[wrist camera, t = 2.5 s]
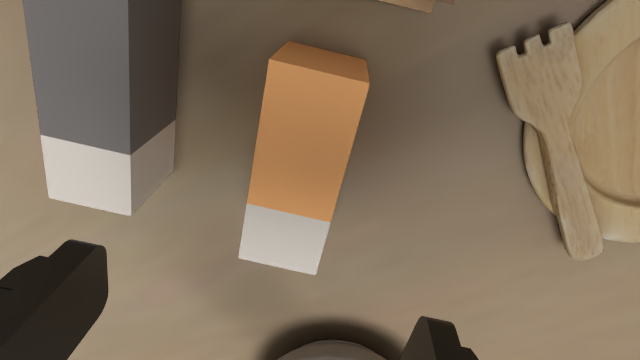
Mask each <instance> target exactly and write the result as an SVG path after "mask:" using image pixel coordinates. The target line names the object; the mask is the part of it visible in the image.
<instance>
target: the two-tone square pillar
mask: <svg viewBox="0 0 640 360" xmlns="http://www.w3.org/2000/svg"><path fill="white" fill-rule="evenodd" d="M23 7H24V15H25V22H26V30H27V37H28V45H29V52H30V60H31V67H32V75H33V82H34V90H35V97H36V105H37V112H38V120H39V127H40V135H41V142H42V150H43V157H44V165H45V172H46V180H47V187H48V195H49V198H51V199H56V200H60V201H65V202H69V203H74V204H78V205H83V206H87V207H92V208H96V209H101V210H105V211H110V212H114V213H118V214H123V215H127V216H132V215H133V214H134V213H135V212H136V211H137V210H138V209H139V207H140V206H141V205H142V204H143V203H144V202H145V201H146V200H147V199H148V198H149V197H150V196H151V195H152V194H153V192H154V191H155V190H156V189H157V188H158V187H159V186H160V185H161V184H162V183H163V182H164V181H165V180H166V178H167V177H168V176H169V175H170V174H171V173H172V172H173V169H174V147H175V125H176V102H177V80H178V58H179V36H180V13H181V0H23Z"/></svg>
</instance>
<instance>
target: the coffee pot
mask: <svg viewBox="0 0 640 360" xmlns="http://www.w3.org/2000/svg"><path fill="white" fill-rule="evenodd" d="M277 360H386V359H385V358H383V357H382V356H380V355H378V354H376V353H375V352H374V351H372V350H370V349H368V348H366V347H364V346H362V345H360V344H356V343H352V342H349V341H342V340H323V341H316V342H312V343H309V344H306V345H303V346H302V347H300V348H298V349H295V350H293V351H291V352H289V353H287V354H285V355H284V356H282V357H281V358H279V359H277Z"/></svg>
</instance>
